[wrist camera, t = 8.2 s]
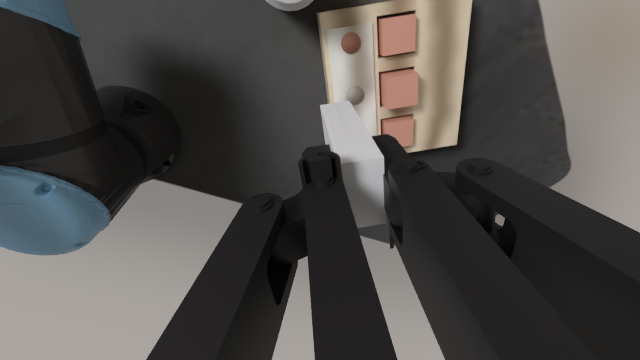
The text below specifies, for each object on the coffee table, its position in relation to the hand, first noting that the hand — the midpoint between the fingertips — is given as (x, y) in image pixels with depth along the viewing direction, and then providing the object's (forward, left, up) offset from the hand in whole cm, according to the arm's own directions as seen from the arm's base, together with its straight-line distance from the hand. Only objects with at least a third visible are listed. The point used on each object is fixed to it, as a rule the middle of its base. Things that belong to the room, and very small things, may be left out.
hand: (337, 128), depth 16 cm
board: (+12, -7, -32) cm, 35 cm away
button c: (+12, +1, -31) cm, 33 cm away
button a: (+12, -13, -31) cm, 36 cm away
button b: (+12, -6, -30) cm, 33 cm away
